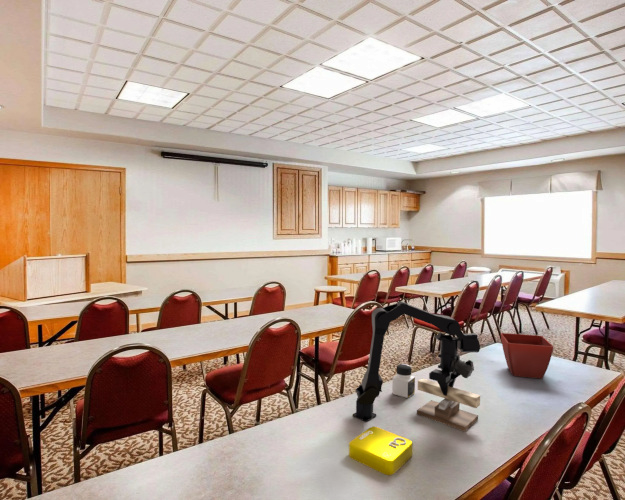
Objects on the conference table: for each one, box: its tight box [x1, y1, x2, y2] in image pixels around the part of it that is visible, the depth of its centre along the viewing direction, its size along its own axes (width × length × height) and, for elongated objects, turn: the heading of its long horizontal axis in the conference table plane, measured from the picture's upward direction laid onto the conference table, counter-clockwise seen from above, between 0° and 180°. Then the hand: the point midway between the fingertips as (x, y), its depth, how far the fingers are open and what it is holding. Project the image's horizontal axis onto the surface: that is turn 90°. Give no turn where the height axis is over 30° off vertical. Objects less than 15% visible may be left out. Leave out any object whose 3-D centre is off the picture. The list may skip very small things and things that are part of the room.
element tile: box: [348, 426, 414, 476], centre depth 116 cm, size 15×15×5 cm
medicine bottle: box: [391, 363, 416, 399], centre depth 160 cm, size 7×7×12 cm
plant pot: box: [500, 332, 554, 380], centre depth 186 cm, size 19×19×17 cm
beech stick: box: [417, 378, 481, 409], centre depth 140 cm, size 22×4×4 cm, turn 47°
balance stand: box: [416, 398, 479, 432], centre depth 140 cm, size 12×18×6 cm, turn 47°
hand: (447, 393), depth 140 cm, fingers closed on beech stick, 3 cm apart
